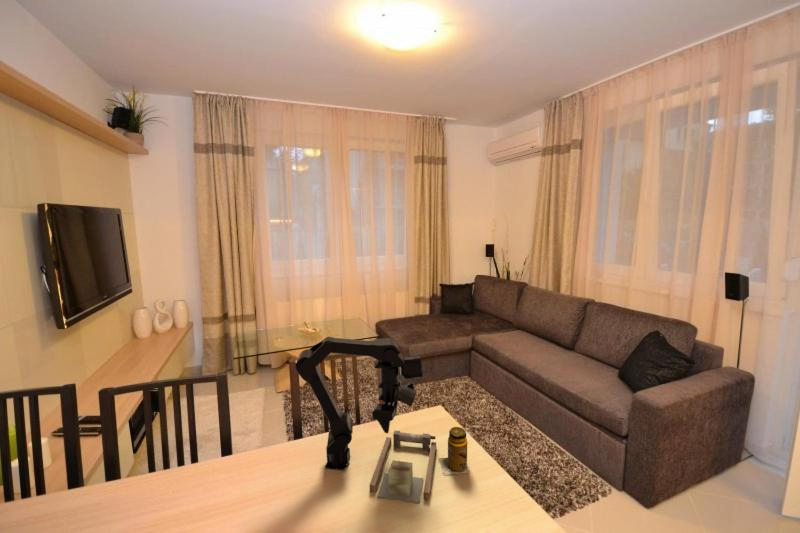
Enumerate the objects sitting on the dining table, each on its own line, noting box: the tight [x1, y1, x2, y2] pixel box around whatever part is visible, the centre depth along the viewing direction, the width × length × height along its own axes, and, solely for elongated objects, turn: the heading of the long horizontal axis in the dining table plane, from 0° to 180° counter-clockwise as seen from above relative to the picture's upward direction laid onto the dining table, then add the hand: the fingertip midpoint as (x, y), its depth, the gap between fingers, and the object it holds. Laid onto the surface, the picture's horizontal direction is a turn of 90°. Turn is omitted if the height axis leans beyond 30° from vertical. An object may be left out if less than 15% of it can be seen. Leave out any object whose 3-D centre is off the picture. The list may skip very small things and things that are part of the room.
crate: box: [387, 459, 414, 496], centre depth 104 cm, size 6×6×6 cm
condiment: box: [438, 426, 472, 476], centre depth 112 cm, size 7×8×12 cm
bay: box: [369, 430, 437, 501], centre depth 113 cm, size 17×24×5 cm
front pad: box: [376, 472, 424, 504], centre depth 104 cm, size 12×9×1 cm
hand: (390, 424), depth 115 cm, fingers open, 9 cm apart
